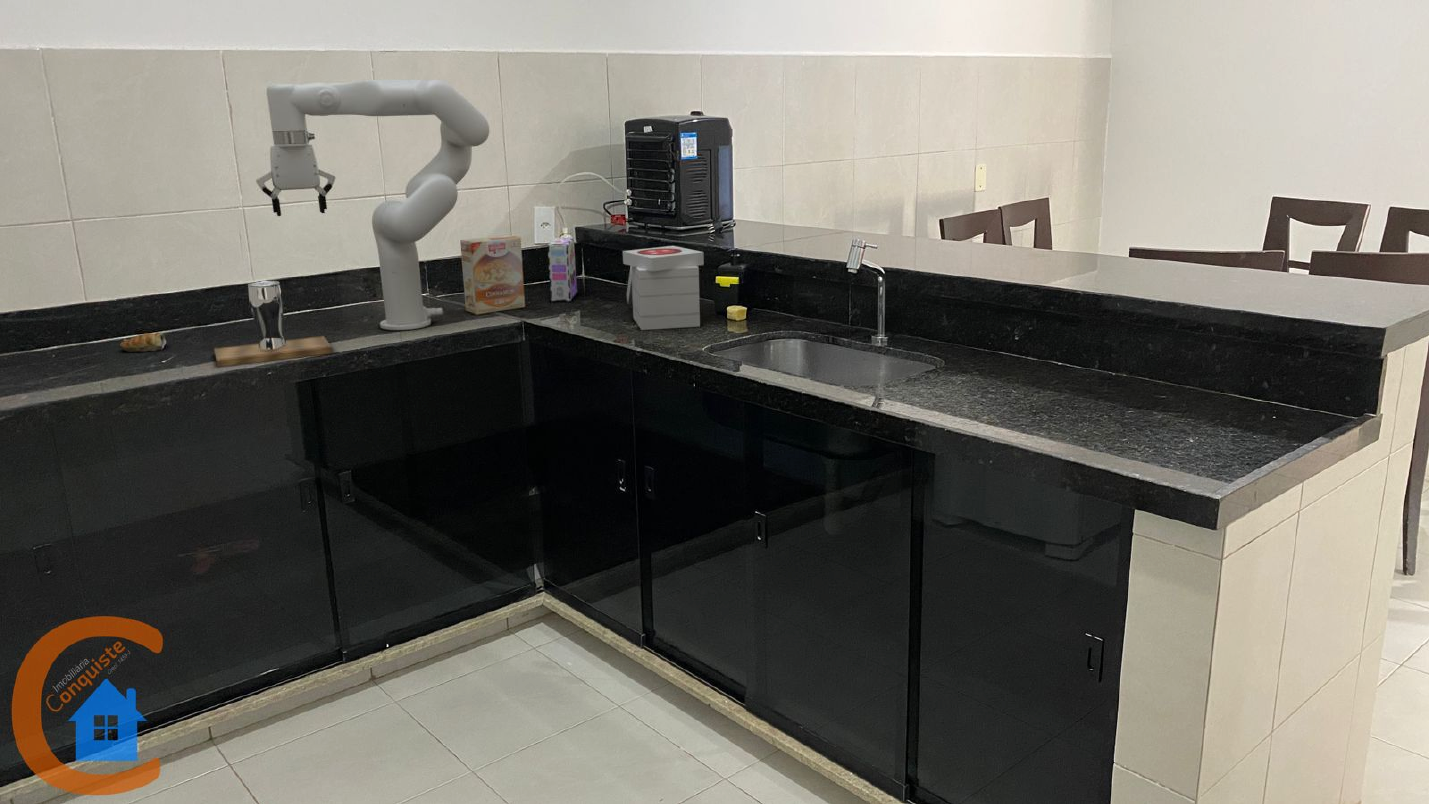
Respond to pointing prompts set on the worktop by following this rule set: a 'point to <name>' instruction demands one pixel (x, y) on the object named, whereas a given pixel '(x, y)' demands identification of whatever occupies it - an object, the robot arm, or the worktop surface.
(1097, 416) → the worktop surface
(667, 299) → the pizza boxes
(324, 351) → the serving board
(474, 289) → the coffeecake box
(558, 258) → the candy box
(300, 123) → the robot arm
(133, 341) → the pastry
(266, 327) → the beer glass
